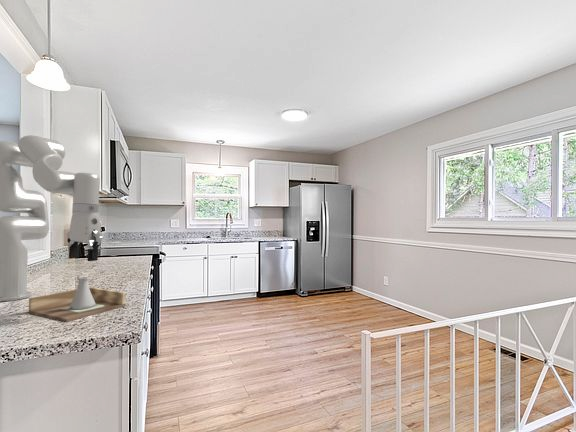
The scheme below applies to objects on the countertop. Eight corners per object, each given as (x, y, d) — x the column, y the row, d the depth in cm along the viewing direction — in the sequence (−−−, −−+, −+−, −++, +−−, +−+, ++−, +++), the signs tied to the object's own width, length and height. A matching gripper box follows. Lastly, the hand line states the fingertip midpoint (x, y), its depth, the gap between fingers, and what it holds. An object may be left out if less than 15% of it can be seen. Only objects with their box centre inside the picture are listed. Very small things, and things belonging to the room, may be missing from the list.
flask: (64, 309, 105) (65, 278, 105) (82, 303, 112) (83, 275, 112) (83, 310, 103) (83, 280, 103) (100, 305, 110) (100, 276, 110)
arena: (28, 313, 103) (29, 298, 103) (88, 299, 121) (89, 286, 121) (67, 321, 95) (67, 305, 95) (125, 305, 113) (125, 292, 113)
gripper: (112, 210, 108) (110, 260, 108) (80, 209, 115) (77, 256, 115) (91, 209, 101) (88, 263, 101) (58, 208, 108) (55, 258, 108)
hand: (83, 259), depth 108 cm, fingers open, 9 cm apart
